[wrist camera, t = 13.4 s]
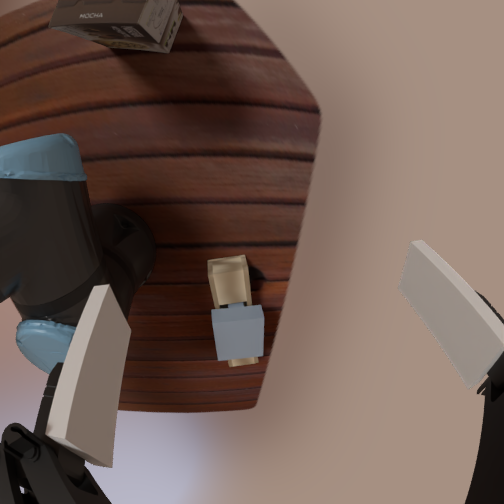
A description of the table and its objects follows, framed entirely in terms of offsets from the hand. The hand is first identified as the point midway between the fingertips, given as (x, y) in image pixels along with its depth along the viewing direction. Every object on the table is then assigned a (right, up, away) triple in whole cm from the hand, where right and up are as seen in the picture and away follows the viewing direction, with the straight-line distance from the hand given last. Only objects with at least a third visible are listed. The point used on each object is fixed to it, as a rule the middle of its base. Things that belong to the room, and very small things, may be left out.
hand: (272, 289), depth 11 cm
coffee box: (-15, +30, +13) cm, 36 cm away
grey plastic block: (-4, -10, +39) cm, 40 cm away
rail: (-4, -9, +39) cm, 41 cm away
